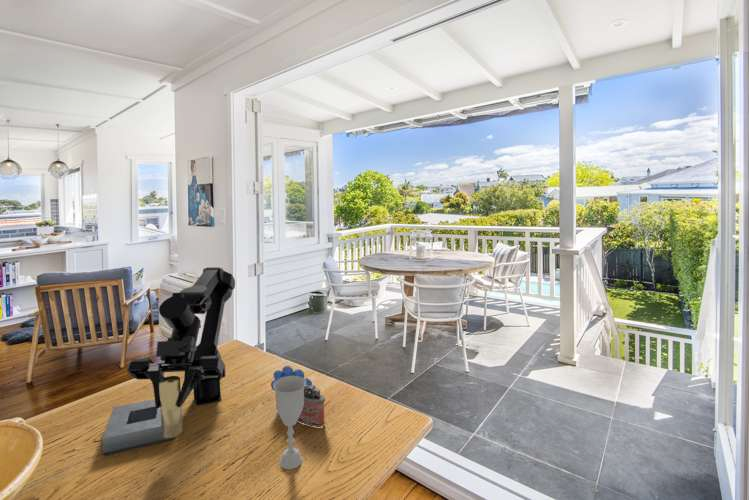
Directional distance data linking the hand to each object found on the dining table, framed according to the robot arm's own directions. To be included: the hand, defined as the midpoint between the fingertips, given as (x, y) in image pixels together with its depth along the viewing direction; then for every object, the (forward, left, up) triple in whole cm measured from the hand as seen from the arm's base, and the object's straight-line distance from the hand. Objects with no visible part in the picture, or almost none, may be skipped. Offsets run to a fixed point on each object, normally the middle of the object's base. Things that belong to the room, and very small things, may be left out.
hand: (168, 407), depth 80 cm
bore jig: (+7, -15, -13) cm, 21 cm away
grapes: (-28, -9, -13) cm, 33 cm away
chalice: (-23, +11, -13) cm, 29 cm away
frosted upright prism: (0, -1, -7) cm, 7 cm away
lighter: (-31, -1, -13) cm, 34 cm away
